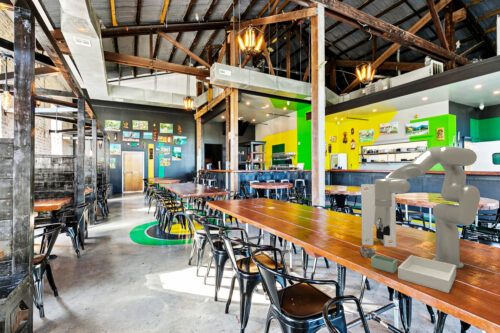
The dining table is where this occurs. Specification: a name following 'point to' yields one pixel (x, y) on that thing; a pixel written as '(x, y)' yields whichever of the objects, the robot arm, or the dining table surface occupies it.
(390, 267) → the small crate
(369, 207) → the notched grey plate
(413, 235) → the dining table surface
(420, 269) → the light grey tray
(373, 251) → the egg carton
